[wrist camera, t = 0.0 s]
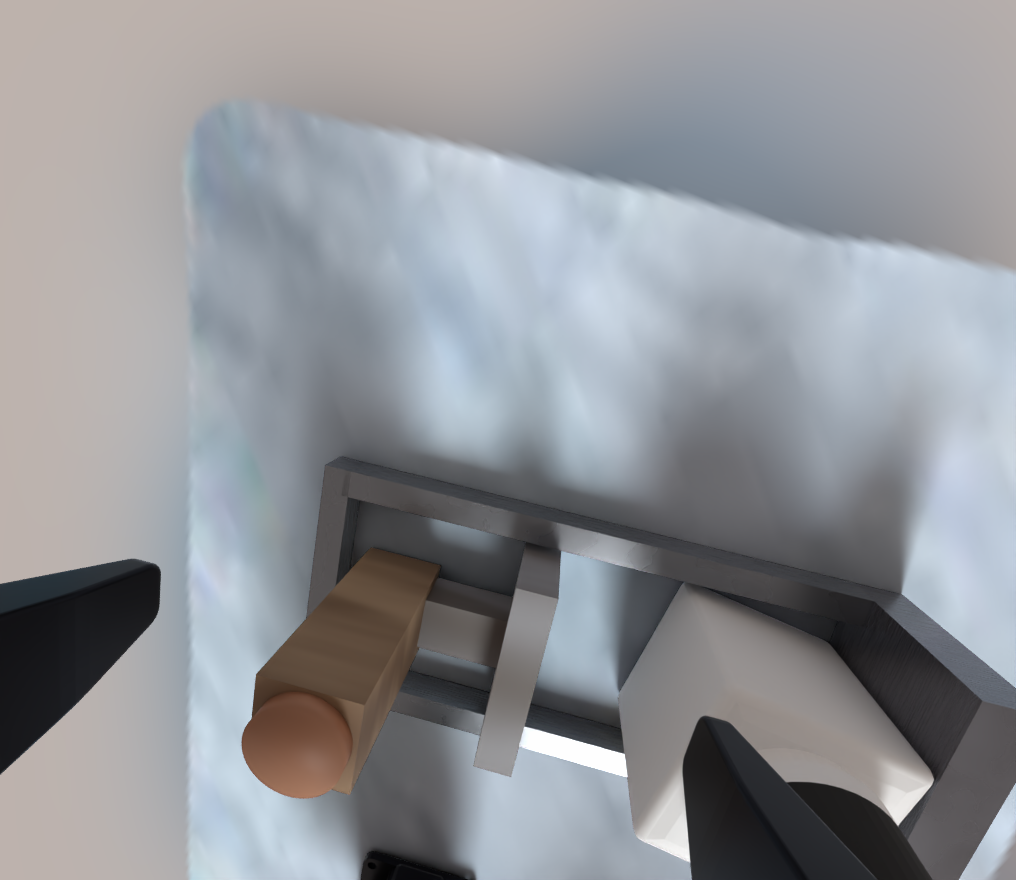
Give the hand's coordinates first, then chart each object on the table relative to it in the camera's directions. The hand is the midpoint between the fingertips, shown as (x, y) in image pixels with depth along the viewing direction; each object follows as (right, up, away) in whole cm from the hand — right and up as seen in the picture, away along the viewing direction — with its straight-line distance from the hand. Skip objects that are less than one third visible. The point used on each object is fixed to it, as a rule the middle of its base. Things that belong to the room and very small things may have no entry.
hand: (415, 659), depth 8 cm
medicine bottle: (+11, -7, +16) cm, 21 cm away
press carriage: (-1, -4, +16) cm, 17 cm away
